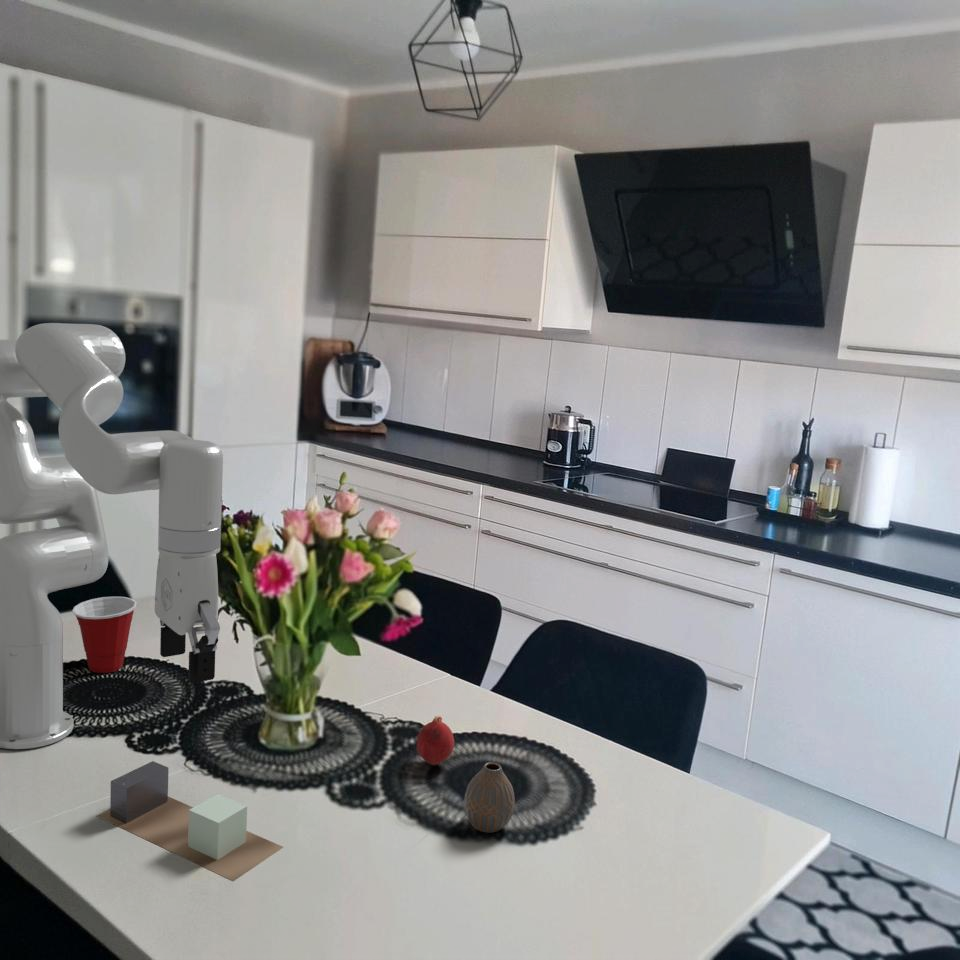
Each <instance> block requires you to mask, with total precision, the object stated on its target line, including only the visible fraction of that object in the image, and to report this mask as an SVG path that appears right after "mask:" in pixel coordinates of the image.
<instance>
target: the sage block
mask: <svg viewBox="0 0 960 960" xmlns="http://www.w3.org/2000/svg"><path fill="white" fill-rule="evenodd" d="M247 818H248V805H246V804H243V803H241V802H238V801H236V800H234V799H231V798H229V797H226V796H224V795H222V794H219V793H217V794H214V796H211V797H209V798H207V799H206V800H204V801H202V802H201V803H199V804H197V805H195V806H194V808H192V809H190V810H189V829H188V847H190V848H192V849H195V850H197V851H199V852H201V853H203V854H205V855H207V856H210V857H212V858H214V859H216V860H219V859H220V858H222V857H223V856H225V855H226V854H228V853H229V852H231V851H233V850H234V849H236V848H237V847H239V846H240V845H242V844H243V843H245V842H246V831H247V825H248V824H247V821H248V819H247Z"/></svg>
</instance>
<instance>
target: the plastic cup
mask: <svg viewBox="0 0 960 960" xmlns="http://www.w3.org/2000/svg"><path fill="white" fill-rule="evenodd" d="M137 604H138V603H137V601H136V600H135V599H133V598H130V597H126V596H102V597H97V598H96V597H95V598H92V599H91V598H90V599H89V600H85V601H82V602H79V603H78V604H77V605H75V606H73V609H72V613H73V614H74V616H75V617H76V620H77V622H78V625H79V629H80V635H81V638H82V645H83V648H84V649H83V650H84V652H85V657H86V663H87V666H88V669H89V671H91V672H93V673H99V674H107V673H114V672H117V671H119V670H121V669H122V668H123V665H124V662H125V661H124V660H125V656H126V651H127V648H128V642H129V638H130V637H129V635H130V631H131V630H130V629H131V626H132V625H131V624H132V621H133V615H134V611H135V609H136V606H137Z"/></svg>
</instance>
